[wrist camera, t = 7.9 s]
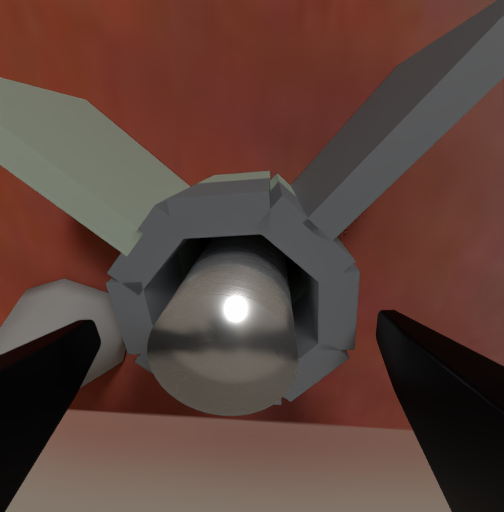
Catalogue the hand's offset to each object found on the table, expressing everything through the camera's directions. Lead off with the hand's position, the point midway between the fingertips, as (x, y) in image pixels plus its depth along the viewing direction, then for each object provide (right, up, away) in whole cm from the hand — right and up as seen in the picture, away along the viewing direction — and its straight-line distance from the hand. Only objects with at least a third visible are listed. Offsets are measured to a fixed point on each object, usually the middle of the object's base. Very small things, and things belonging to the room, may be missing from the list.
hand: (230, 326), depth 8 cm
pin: (0, +3, +7) cm, 8 cm away
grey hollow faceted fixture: (+3, +5, +6) cm, 8 cm away
